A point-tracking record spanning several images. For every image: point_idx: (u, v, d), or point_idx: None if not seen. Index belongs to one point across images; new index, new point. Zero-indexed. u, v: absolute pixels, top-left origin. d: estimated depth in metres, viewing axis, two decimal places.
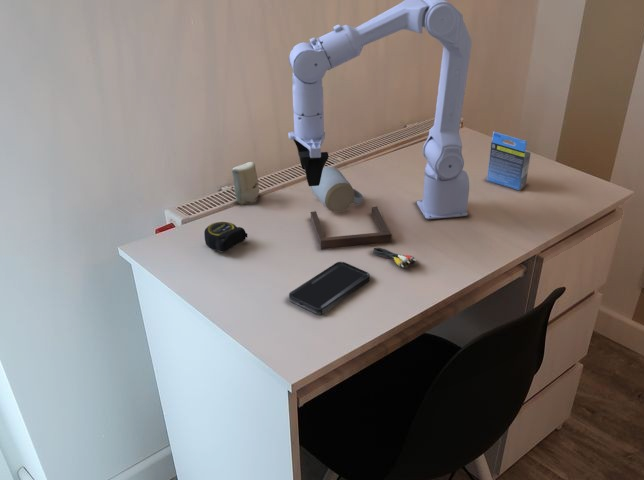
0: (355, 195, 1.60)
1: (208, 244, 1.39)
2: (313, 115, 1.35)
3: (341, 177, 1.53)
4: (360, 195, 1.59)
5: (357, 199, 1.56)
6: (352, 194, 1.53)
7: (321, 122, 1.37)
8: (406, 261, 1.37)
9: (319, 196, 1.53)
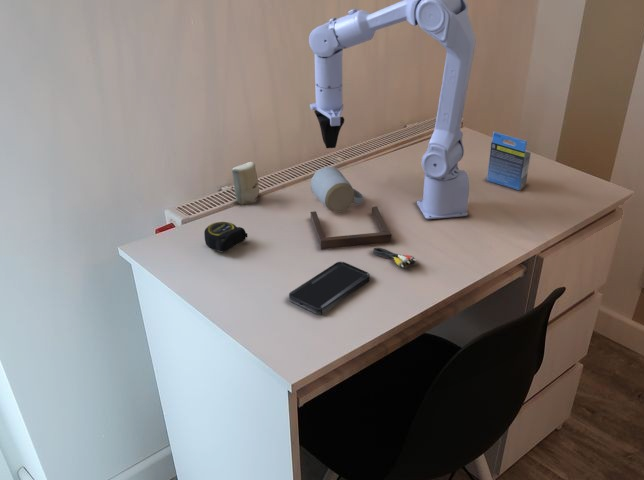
0: (355, 195, 1.60)
1: (208, 244, 1.39)
2: (333, 87, 1.49)
3: (341, 177, 1.53)
4: (360, 195, 1.59)
5: (357, 199, 1.56)
6: (352, 194, 1.53)
7: (340, 94, 1.52)
8: (406, 261, 1.37)
9: (319, 196, 1.53)
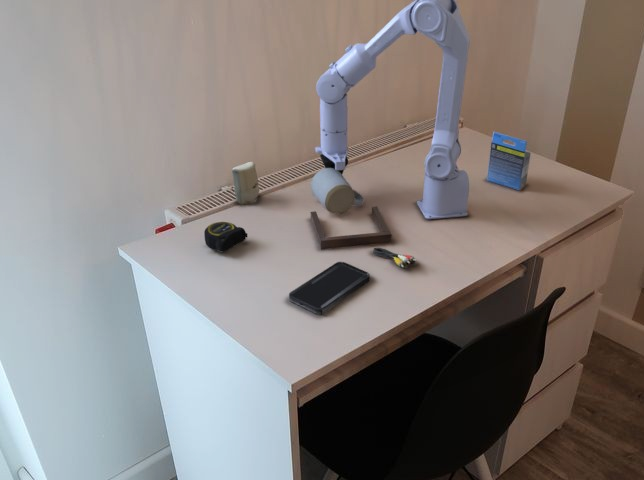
0: (355, 197, 1.59)
1: (208, 244, 1.39)
2: (338, 132, 1.50)
3: (341, 179, 1.52)
4: (360, 197, 1.58)
5: (357, 200, 1.55)
6: (352, 196, 1.52)
7: (345, 138, 1.52)
8: (406, 261, 1.37)
9: (319, 198, 1.52)
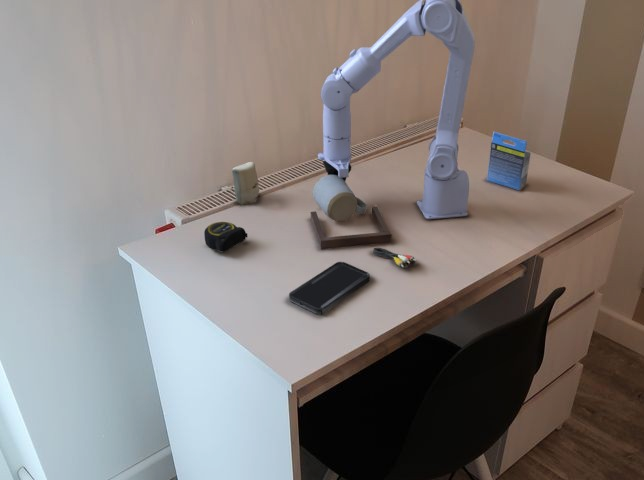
0: (358, 204, 1.57)
1: (208, 244, 1.39)
2: (342, 138, 1.47)
3: (344, 186, 1.49)
4: (363, 204, 1.56)
5: (360, 208, 1.52)
6: (355, 204, 1.50)
7: (348, 145, 1.49)
8: (406, 261, 1.37)
9: (321, 205, 1.50)
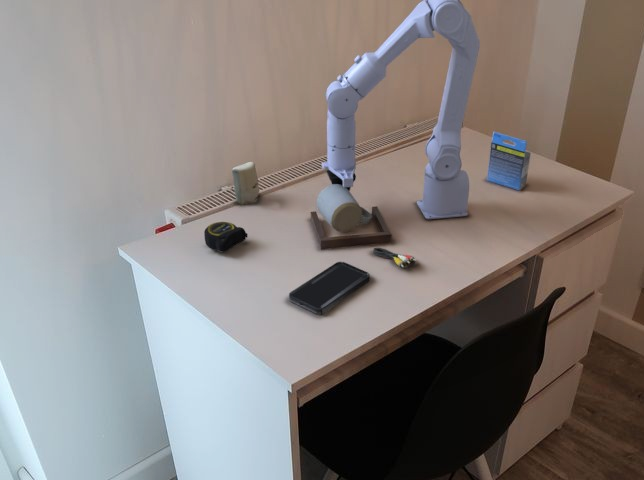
0: (363, 214, 1.53)
1: (208, 244, 1.39)
2: (346, 147, 1.44)
3: (349, 196, 1.46)
4: (368, 214, 1.52)
5: (365, 218, 1.49)
6: (360, 214, 1.46)
7: (353, 154, 1.46)
8: (406, 261, 1.37)
9: (325, 215, 1.46)
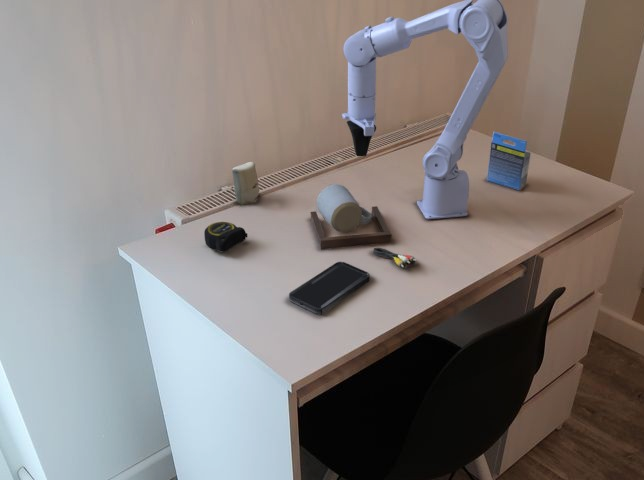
0: (363, 214, 1.53)
1: (208, 244, 1.39)
2: (367, 96, 1.46)
3: (348, 196, 1.46)
4: (368, 214, 1.52)
5: (365, 218, 1.49)
6: (360, 214, 1.46)
7: (373, 103, 1.48)
8: (406, 261, 1.37)
9: (325, 215, 1.46)
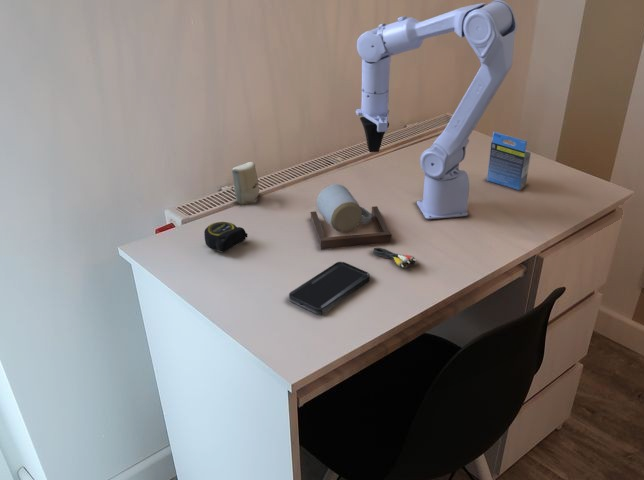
0: (363, 214, 1.53)
1: (208, 244, 1.39)
2: (380, 93, 1.48)
3: (348, 196, 1.46)
4: (368, 214, 1.52)
5: (365, 218, 1.49)
6: (360, 214, 1.46)
7: (386, 100, 1.50)
8: (406, 261, 1.37)
9: (325, 215, 1.46)
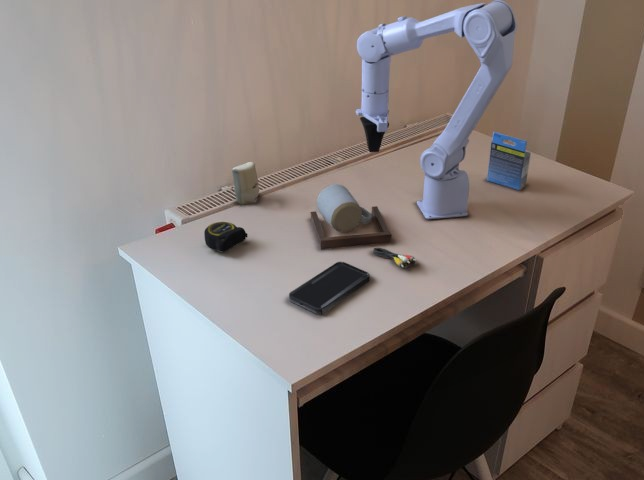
0: (363, 214, 1.53)
1: (208, 244, 1.39)
2: (380, 93, 1.48)
3: (348, 196, 1.46)
4: (368, 214, 1.52)
5: (365, 218, 1.49)
6: (360, 214, 1.46)
7: (386, 100, 1.50)
8: (406, 261, 1.37)
9: (325, 215, 1.46)
